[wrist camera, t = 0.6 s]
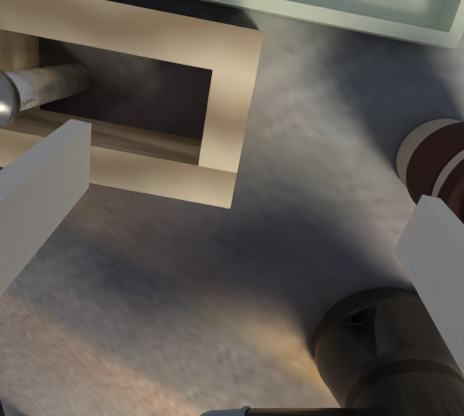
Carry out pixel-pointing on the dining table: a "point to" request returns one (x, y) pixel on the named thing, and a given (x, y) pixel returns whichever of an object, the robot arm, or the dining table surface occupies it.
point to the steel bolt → (39, 87)
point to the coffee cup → (435, 163)
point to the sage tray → (372, 17)
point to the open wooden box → (131, 138)
